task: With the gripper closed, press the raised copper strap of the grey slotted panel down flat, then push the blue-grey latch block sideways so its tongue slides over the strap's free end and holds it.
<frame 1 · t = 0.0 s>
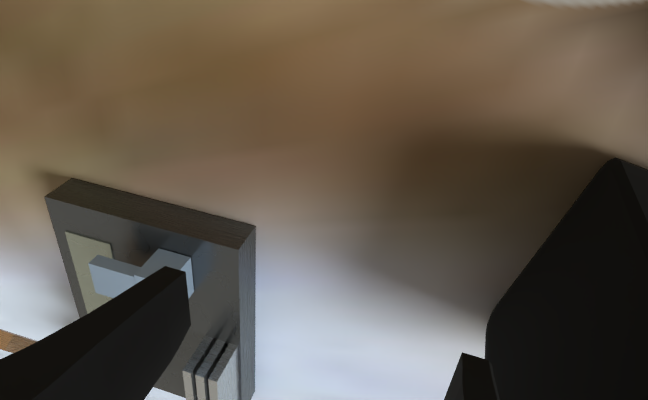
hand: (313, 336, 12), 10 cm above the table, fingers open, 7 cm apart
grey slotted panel: (172, 295, 30), on the table
electronic device: (586, 262, 20), on the table
latch: (142, 276, 24), point 3 cm above the table, slide at 0.0 cm
strap: (66, 358, 27), point 5 cm above the table, hinge at 30.0°
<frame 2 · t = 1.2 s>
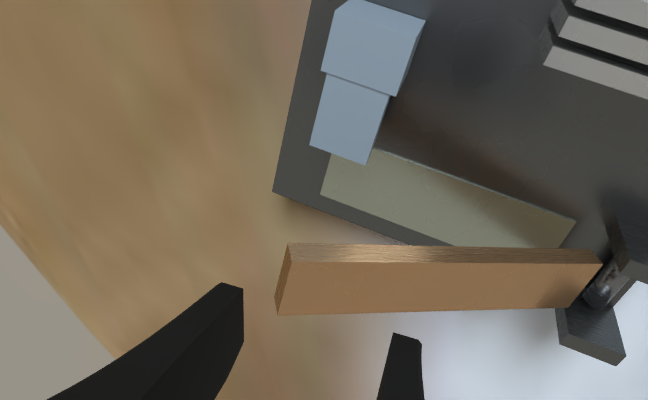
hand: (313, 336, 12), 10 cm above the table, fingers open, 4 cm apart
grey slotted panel: (489, 114, 18), on the table
latch: (362, 84, 16), point 3 cm above the table, slide at 0.0 cm
strap: (472, 279, 15), point 5 cm above the table, hinge at 30.0°
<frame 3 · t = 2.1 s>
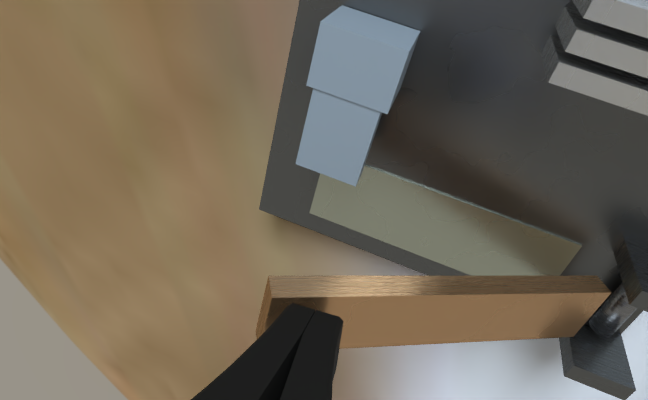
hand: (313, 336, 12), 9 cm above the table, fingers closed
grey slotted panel: (489, 129, 17), on the table
latch: (352, 99, 14), point 3 cm above the table, slide at 0.0 cm
strap: (470, 309, 14), point 5 cm above the table, hinge at 30.0°, touching gripper
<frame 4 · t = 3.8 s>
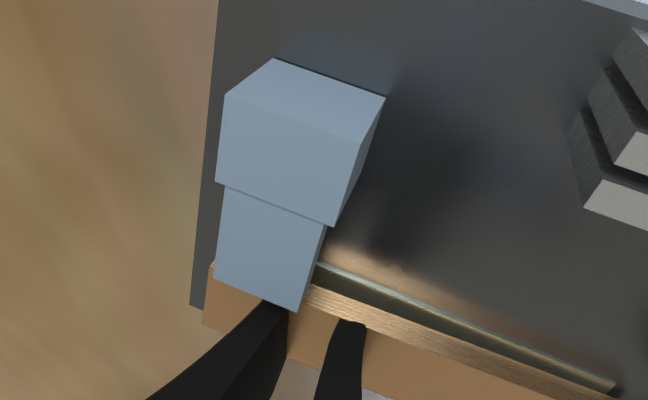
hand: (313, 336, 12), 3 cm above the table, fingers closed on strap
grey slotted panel: (488, 214, 12), on the table
latch: (289, 192, 10), point 3 cm above the table, slide at 0.0 cm
strap: (437, 375, 12), point 3 cm above the table, hinge at 1.9°, touching gripper
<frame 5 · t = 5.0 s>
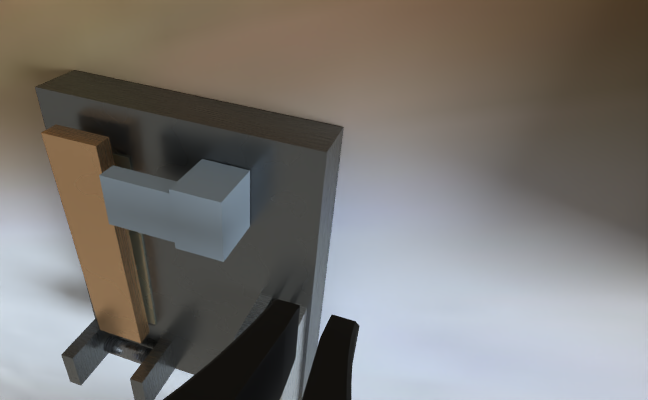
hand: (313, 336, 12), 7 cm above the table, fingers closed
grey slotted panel: (209, 243, 22), on the table
latch: (178, 200, 17), point 3 cm above the table, slide at 0.0 cm
strap: (108, 264, 20), point 3 cm above the table, hinge at 1.9°
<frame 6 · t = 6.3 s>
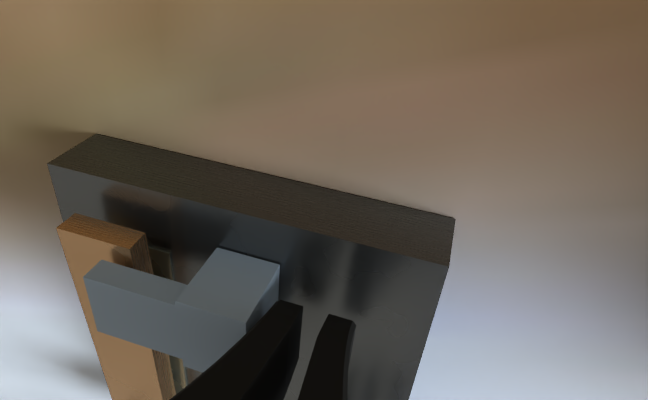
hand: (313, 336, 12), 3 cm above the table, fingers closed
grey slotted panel: (259, 336, 18), on the table
latch: (186, 301, 13), point 3 cm above the table, slide at 1.5 cm, touching gripper
strap: (137, 371, 16), point 3 cm above the table, hinge at 1.9°
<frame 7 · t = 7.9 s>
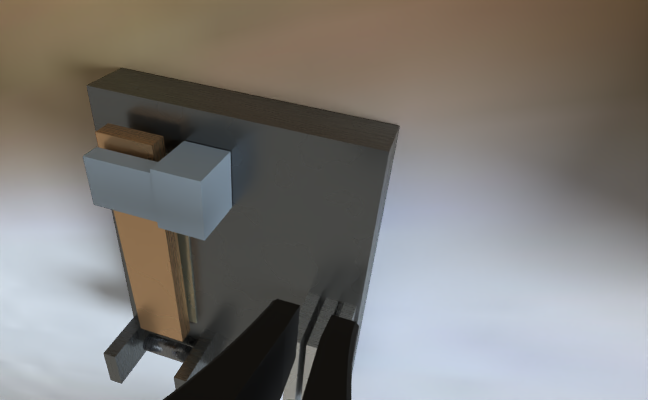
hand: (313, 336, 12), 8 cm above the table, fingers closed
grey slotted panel: (252, 241, 22), on the table
latch: (161, 181, 17), point 3 cm above the table, slide at 2.8 cm
strap: (153, 263, 20), point 3 cm above the table, hinge at 1.9°
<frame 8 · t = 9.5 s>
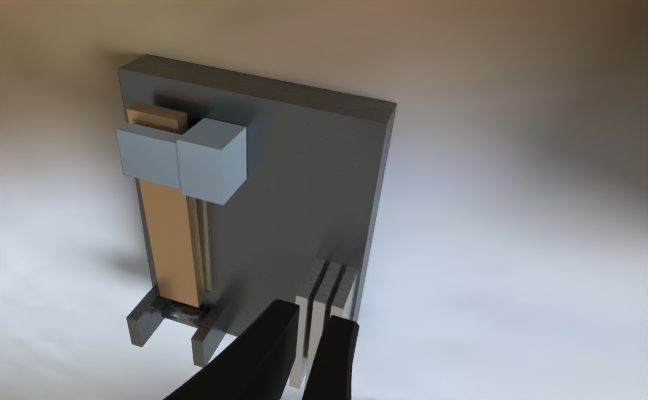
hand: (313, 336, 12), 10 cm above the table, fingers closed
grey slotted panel: (262, 214, 24), on the table
latch: (184, 153, 19), point 3 cm above the table, slide at 2.8 cm
strap: (173, 233, 22), point 3 cm above the table, hinge at 1.9°
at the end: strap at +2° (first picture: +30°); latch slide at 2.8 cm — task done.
